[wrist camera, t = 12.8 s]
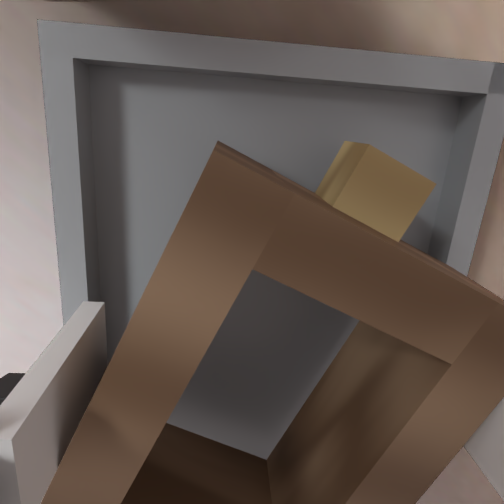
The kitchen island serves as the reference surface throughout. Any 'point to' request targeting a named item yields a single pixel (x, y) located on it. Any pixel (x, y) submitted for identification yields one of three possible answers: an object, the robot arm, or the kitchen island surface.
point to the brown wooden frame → (337, 374)
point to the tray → (263, 151)
